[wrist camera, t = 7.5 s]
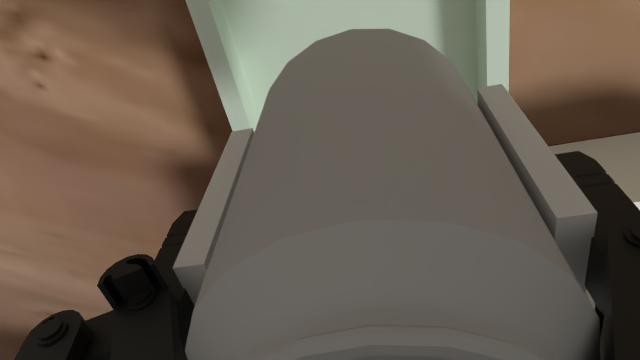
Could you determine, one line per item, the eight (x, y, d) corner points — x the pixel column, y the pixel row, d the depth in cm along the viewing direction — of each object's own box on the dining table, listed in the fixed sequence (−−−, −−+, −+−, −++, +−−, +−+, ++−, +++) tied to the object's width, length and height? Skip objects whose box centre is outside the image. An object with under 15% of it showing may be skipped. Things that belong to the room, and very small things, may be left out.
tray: (266, 177, 29) (259, 205, 27) (185, -64, 22) (165, -56, 19) (492, 141, 27) (507, 167, 25) (489, -141, 19) (511, -143, 17)
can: (259, 189, 19) (166, 539, 9) (272, 3, 15) (126, 277, 5) (435, 213, 19) (532, 578, 9) (498, 37, 15) (797, 361, 5)
